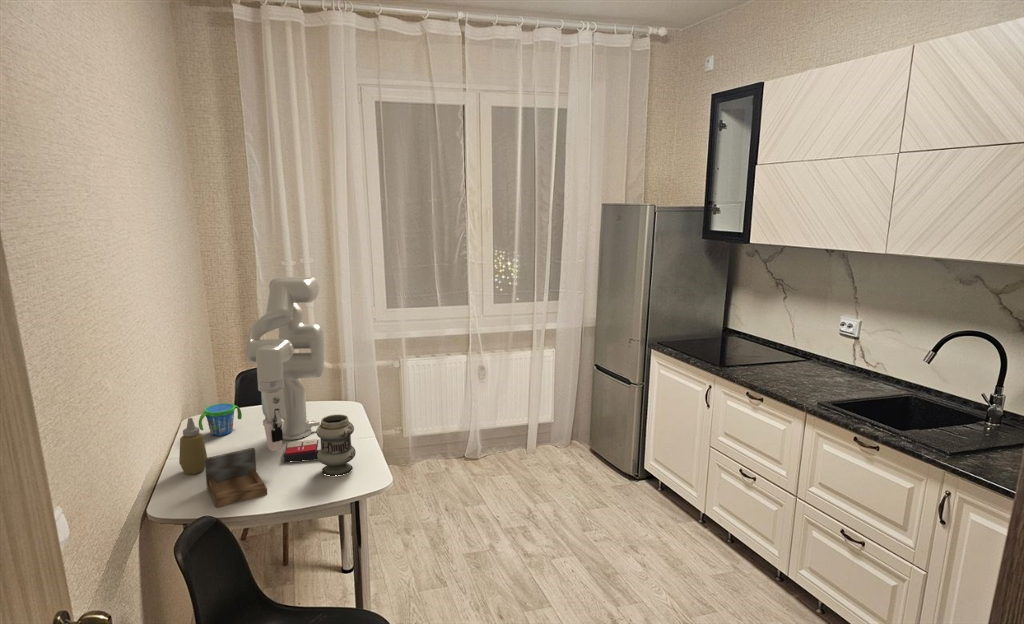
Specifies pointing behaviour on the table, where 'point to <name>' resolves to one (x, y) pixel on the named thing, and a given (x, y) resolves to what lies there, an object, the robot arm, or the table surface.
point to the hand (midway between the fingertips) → (274, 436)
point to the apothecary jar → (335, 444)
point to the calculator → (302, 450)
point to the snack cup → (220, 418)
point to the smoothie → (268, 427)
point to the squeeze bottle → (192, 449)
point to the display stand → (233, 477)
